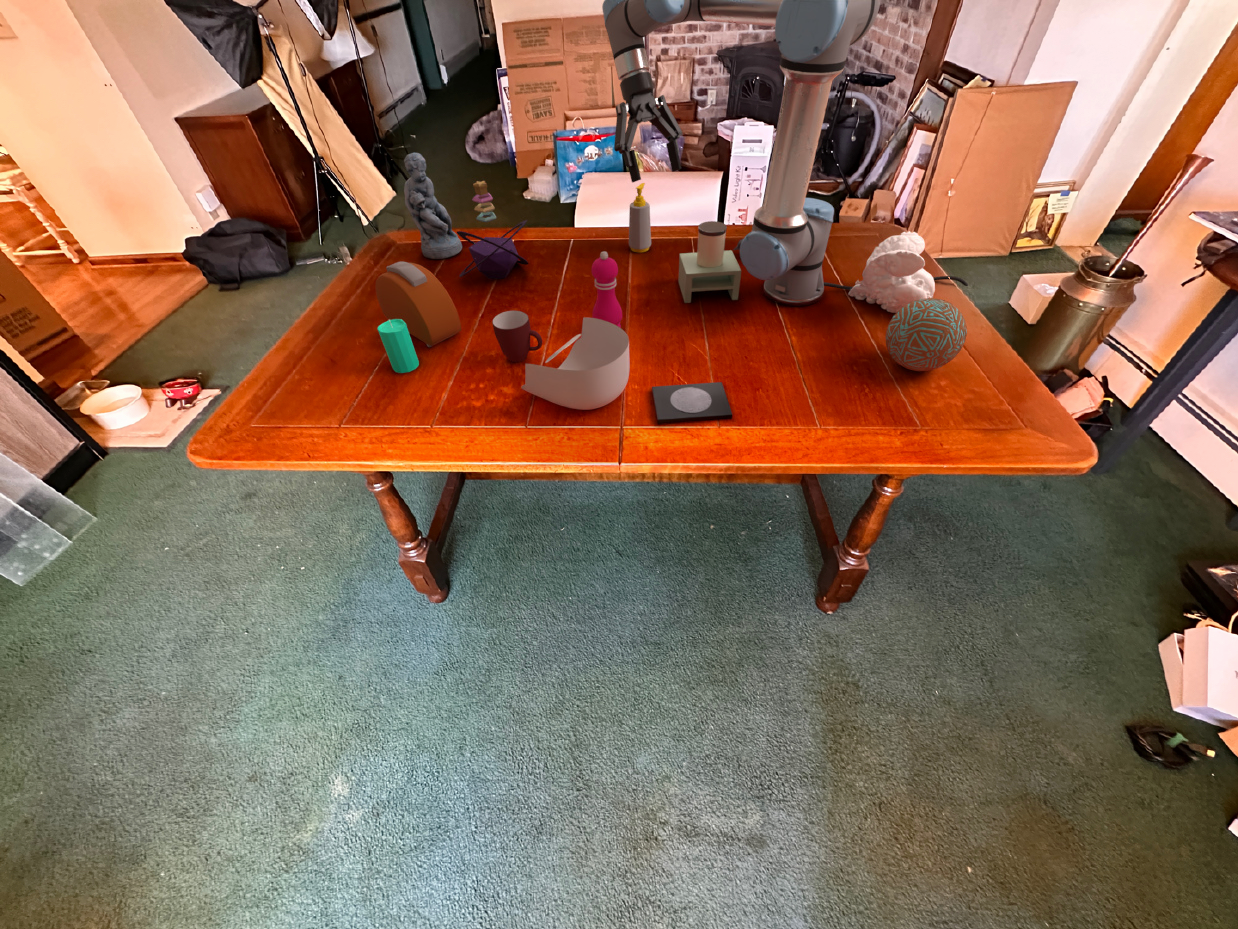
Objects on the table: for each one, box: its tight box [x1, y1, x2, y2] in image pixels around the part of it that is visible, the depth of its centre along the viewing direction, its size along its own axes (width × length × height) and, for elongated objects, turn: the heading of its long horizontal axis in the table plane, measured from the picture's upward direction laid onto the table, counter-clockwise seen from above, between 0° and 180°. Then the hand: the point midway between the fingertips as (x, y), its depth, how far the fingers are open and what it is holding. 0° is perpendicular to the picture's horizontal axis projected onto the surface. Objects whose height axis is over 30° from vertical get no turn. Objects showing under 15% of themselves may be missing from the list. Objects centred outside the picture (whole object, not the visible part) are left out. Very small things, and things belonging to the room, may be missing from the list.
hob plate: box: [651, 381, 733, 425], centre depth 115 cm, size 15×11×1 cm
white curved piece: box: [520, 316, 631, 411], centre depth 116 cm, size 20×19×12 cm
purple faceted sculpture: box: [456, 180, 530, 280], centre depth 152 cm, size 22×21×25 cm
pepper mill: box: [591, 250, 623, 329], centre depth 130 cm, size 7×7×20 cm
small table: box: [677, 249, 742, 304], centre depth 147 cm, size 14×12×8 cm
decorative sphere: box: [885, 297, 968, 372], centre depth 117 cm, size 15×15×15 cm
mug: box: [491, 310, 543, 363], centre depth 126 cm, size 10×8×10 cm
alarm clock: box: [375, 261, 463, 348], centre depth 134 cm, size 23×9×17 cm, turn 47°
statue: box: [403, 152, 463, 260], centre depth 164 cm, size 12×23×27 cm, turn 71°
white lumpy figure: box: [847, 230, 936, 314], centre depth 138 cm, size 19×20×20 cm
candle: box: [376, 319, 420, 374], centre depth 125 cm, size 6×6×12 cm
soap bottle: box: [628, 182, 652, 253], centre depth 163 cm, size 7×7×18 cm
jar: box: [696, 220, 728, 268], centre depth 141 cm, size 7×7×9 cm
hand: (657, 175), depth 137 cm, fingers open, 13 cm apart
